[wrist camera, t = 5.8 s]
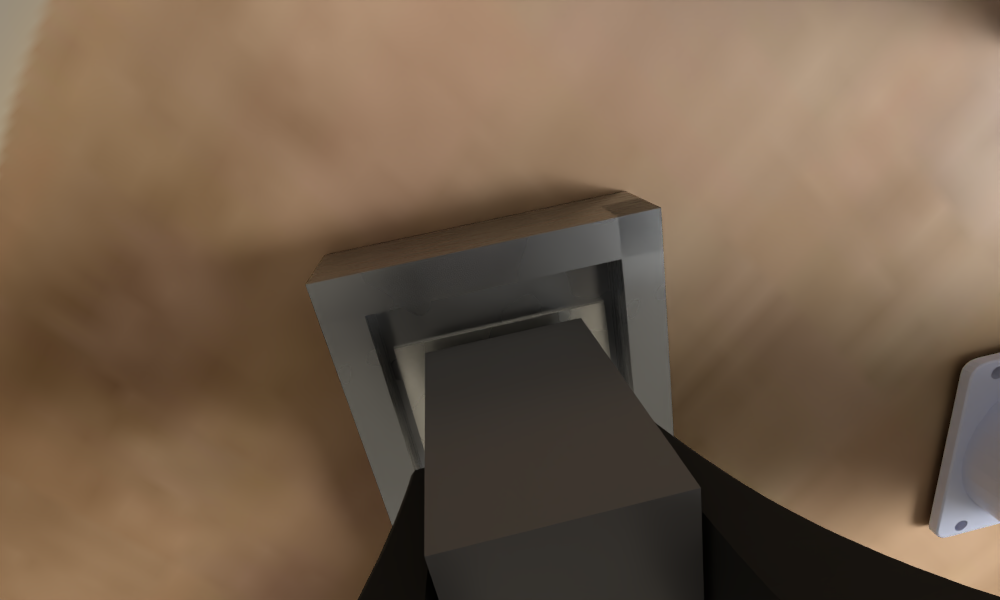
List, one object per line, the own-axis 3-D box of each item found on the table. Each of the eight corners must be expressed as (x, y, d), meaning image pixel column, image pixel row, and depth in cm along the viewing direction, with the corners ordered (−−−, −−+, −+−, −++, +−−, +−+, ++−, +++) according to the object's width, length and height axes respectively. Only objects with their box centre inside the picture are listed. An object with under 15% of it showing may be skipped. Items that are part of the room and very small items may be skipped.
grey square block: (580, 317, 13) (701, 487, 7) (599, 459, 14) (706, 683, 9) (425, 352, 12) (424, 556, 7) (463, 493, 14) (487, 743, 9)
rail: (625, 191, 13) (660, 207, 11) (664, 661, 21) (689, 722, 19) (324, 255, 13) (305, 284, 11) (478, 712, 21) (483, 778, 19)
